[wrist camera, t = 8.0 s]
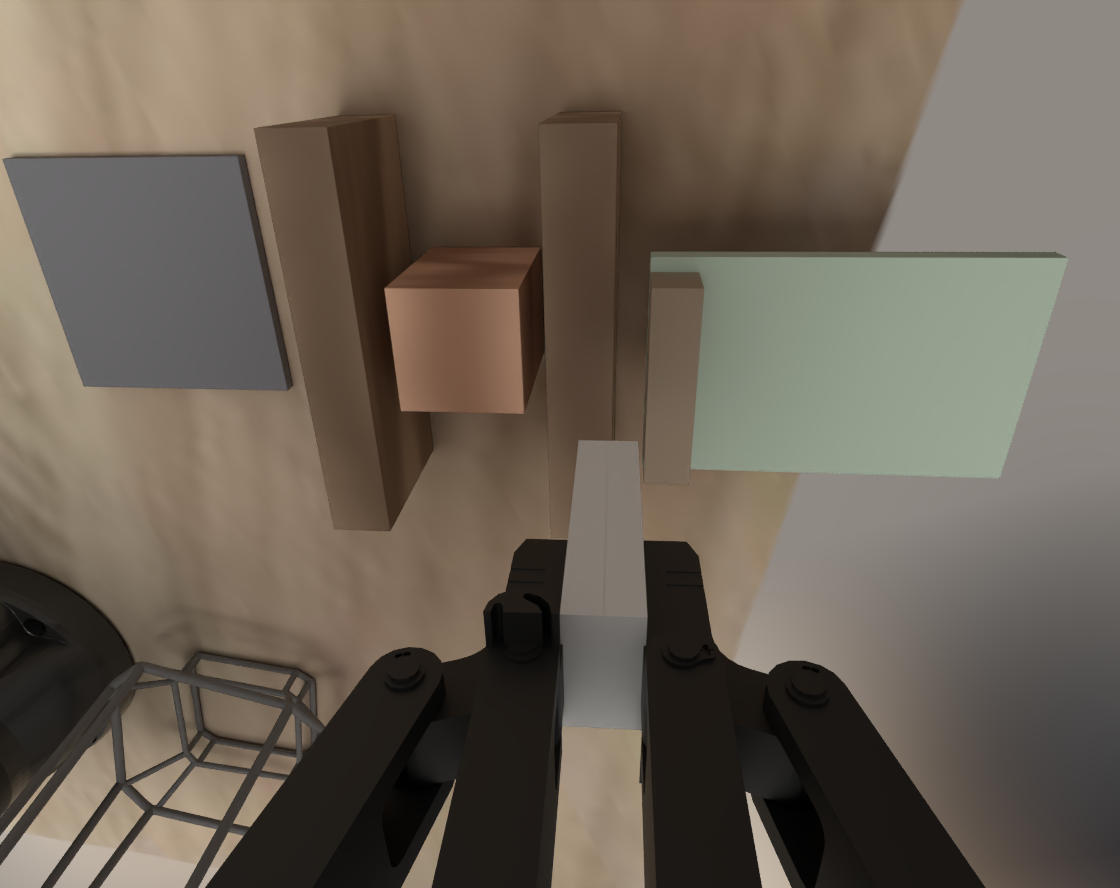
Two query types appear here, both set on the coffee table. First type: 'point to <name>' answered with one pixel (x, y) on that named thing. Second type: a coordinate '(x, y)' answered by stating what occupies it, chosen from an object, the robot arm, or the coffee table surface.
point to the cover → (841, 360)
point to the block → (467, 329)
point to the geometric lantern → (115, 696)
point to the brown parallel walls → (384, 253)
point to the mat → (155, 269)
